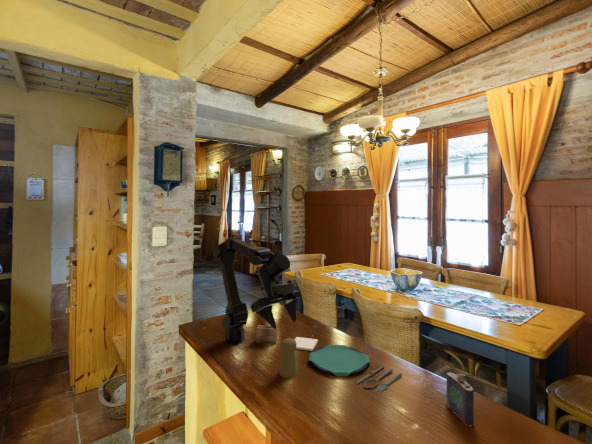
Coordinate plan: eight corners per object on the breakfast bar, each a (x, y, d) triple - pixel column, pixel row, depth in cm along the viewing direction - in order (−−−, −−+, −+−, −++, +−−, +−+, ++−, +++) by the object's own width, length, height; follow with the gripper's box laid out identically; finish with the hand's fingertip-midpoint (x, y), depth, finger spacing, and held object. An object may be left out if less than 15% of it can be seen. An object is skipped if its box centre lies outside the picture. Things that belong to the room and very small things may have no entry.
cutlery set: (335, 345, 122) (335, 339, 122) (406, 376, 100) (407, 369, 100) (298, 362, 109) (298, 355, 109) (370, 403, 86) (370, 395, 86)
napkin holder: (256, 342, 124) (256, 327, 123) (258, 339, 127) (258, 325, 126) (276, 343, 123) (276, 329, 122) (277, 340, 126) (277, 326, 125)
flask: (443, 404, 85) (444, 365, 84) (453, 403, 85) (454, 364, 85) (467, 427, 75) (468, 384, 75) (477, 426, 76) (479, 383, 75)
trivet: (289, 347, 119) (289, 345, 119) (296, 338, 128) (296, 336, 128) (312, 351, 116) (312, 349, 116) (317, 341, 125) (317, 339, 125)
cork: (295, 378, 97) (295, 344, 97) (277, 376, 98) (277, 342, 98) (299, 369, 103) (299, 336, 103) (281, 367, 104) (281, 335, 104)
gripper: (262, 275, 97) (279, 324, 91) (302, 269, 110) (319, 311, 105) (243, 288, 103) (258, 335, 98) (283, 281, 117) (298, 321, 111)
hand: (285, 325), depth 103 cm, fingers open, 9 cm apart
